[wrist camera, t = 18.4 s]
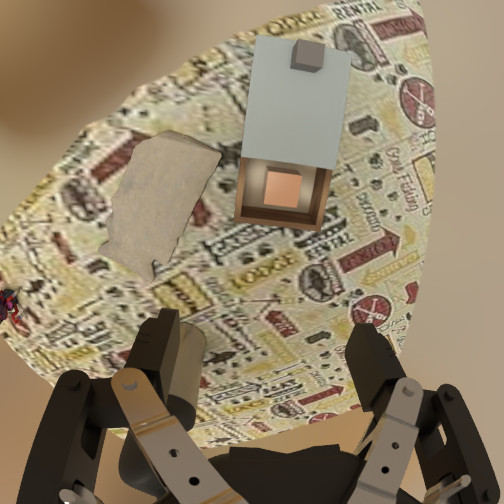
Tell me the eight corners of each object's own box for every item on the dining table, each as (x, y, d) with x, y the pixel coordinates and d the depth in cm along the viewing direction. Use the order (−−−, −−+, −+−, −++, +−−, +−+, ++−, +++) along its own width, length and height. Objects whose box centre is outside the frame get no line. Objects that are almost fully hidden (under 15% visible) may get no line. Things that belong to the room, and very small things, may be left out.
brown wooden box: (311, 217, 45) (320, 231, 40) (235, 208, 44) (233, 221, 39) (328, 117, 38) (341, 117, 33) (247, 104, 37) (247, 101, 32)
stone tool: (160, 278, 50) (228, 154, 41) (154, 290, 47) (225, 158, 37) (99, 244, 48) (153, 115, 38) (90, 254, 44) (144, 115, 34)
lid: (333, 169, 36) (344, 176, 31) (240, 155, 35) (240, 161, 30) (349, 54, 29) (363, 47, 24) (256, 36, 28) (257, 25, 24)
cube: (291, 198, 43) (296, 207, 39) (262, 195, 43) (263, 203, 39) (296, 170, 41) (302, 175, 37) (266, 165, 41) (268, 171, 37)
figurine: (34, 315, 54) (4, 355, 40) (11, 309, 53) (-18, 345, 40) (24, 285, 50) (-12, 324, 37) (1, 281, 50) (-33, 316, 36)
